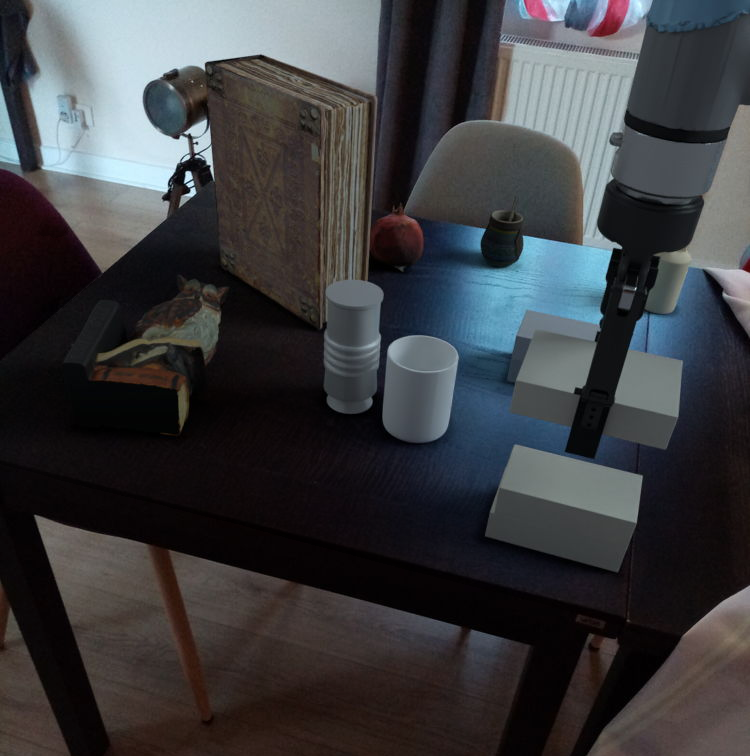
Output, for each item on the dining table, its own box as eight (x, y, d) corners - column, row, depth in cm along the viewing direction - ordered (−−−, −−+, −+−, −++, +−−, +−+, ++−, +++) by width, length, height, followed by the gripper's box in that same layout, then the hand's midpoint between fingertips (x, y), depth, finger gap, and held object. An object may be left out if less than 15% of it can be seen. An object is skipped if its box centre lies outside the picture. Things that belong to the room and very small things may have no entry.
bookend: (55, 368, 86) (116, 250, 103) (80, 440, 94) (133, 319, 111) (188, 374, 86) (228, 255, 103) (202, 446, 94) (237, 324, 111)
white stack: (624, 523, 86) (643, 474, 81) (617, 572, 80) (636, 523, 75) (500, 490, 89) (511, 441, 84) (484, 536, 83) (495, 486, 78)
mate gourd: (474, 266, 133) (483, 207, 126) (482, 249, 138) (491, 192, 131) (516, 274, 131) (527, 215, 125) (523, 256, 137) (534, 199, 130)
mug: (389, 387, 103) (395, 316, 97) (451, 394, 103) (462, 324, 96) (377, 440, 94) (383, 367, 88) (445, 449, 94) (456, 376, 87)
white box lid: (671, 391, 76) (682, 360, 73) (665, 450, 68) (678, 417, 66) (528, 359, 78) (535, 328, 76) (509, 412, 71) (515, 380, 69)
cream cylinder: (649, 315, 123) (669, 254, 116) (633, 299, 127) (651, 239, 120) (680, 313, 124) (701, 253, 118) (663, 297, 128) (682, 238, 121)
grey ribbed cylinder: (339, 380, 104) (342, 274, 94) (385, 395, 102) (394, 289, 92) (312, 404, 99) (313, 296, 89) (360, 422, 97) (366, 312, 87)
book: (366, 312, 118) (379, 97, 98) (319, 331, 113) (322, 107, 93) (266, 253, 132) (259, 52, 112) (220, 267, 127) (204, 60, 107)
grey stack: (616, 374, 109) (630, 330, 104) (610, 405, 103) (624, 359, 99) (518, 353, 112) (527, 308, 107) (506, 381, 106) (516, 335, 102)
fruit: (405, 281, 127) (410, 221, 120) (356, 265, 130) (359, 205, 124) (432, 262, 133) (439, 203, 126) (385, 247, 136) (389, 189, 130)
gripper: (621, 137, 69) (565, 356, 84) (589, 230, 53) (527, 481, 68) (709, 152, 68) (636, 372, 82) (704, 252, 51) (614, 504, 66)
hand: (587, 421), depth 75 cm, fingers closed on white box lid, 10 cm apart
